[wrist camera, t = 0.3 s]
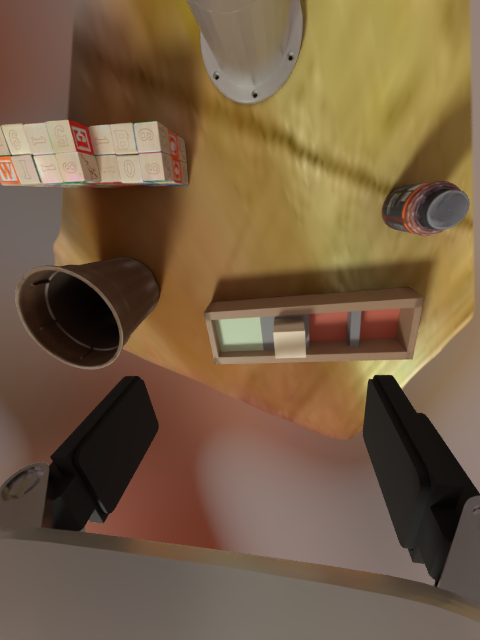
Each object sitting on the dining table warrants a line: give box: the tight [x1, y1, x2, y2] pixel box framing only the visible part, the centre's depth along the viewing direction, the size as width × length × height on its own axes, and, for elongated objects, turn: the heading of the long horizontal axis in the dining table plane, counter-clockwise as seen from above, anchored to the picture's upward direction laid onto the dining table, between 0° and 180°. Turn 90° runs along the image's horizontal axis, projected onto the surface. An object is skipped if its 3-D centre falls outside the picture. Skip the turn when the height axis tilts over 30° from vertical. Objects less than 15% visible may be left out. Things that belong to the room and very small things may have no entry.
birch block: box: [273, 317, 306, 358], centre depth 43 cm, size 5×5×5 cm
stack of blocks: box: [0, 120, 189, 188], centre depth 34 cm, size 21×6×12 cm, turn 91°
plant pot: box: [15, 257, 159, 369], centre depth 42 cm, size 16×16×16 cm
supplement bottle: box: [382, 181, 469, 236], centre depth 32 cm, size 6×6×11 cm
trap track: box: [204, 287, 424, 364], centre depth 45 cm, size 11×34×5 cm, turn 98°
